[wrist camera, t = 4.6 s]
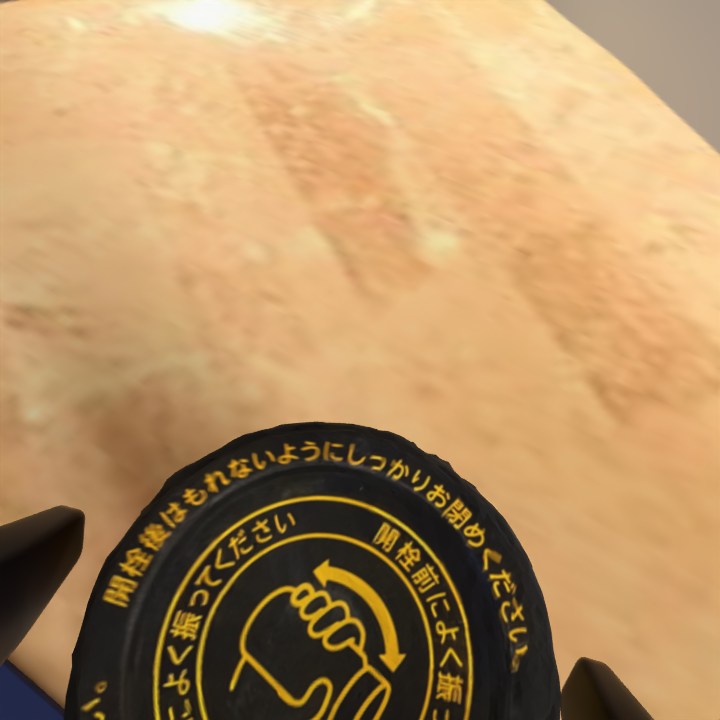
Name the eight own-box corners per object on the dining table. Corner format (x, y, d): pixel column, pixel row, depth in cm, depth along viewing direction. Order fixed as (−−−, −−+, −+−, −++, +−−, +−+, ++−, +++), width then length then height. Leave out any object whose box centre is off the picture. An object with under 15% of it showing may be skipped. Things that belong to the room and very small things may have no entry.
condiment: (184, 752, 14) (-219, 1203, 3) (229, 456, 18) (104, 228, 7) (441, 759, 15) (797, 1177, 4) (433, 467, 18) (601, 268, 8)
